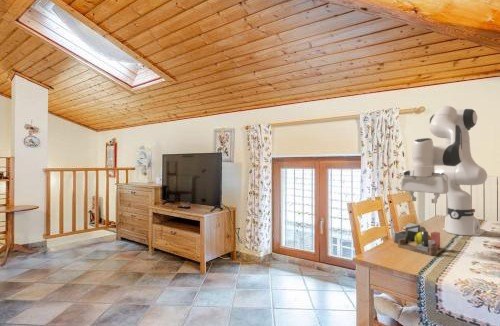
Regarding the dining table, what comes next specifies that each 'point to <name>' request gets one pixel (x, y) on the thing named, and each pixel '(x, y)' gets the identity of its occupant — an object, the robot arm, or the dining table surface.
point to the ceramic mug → (415, 228)
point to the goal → (406, 234)
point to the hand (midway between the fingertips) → (423, 202)
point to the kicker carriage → (429, 241)
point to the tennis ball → (420, 238)
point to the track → (414, 248)
